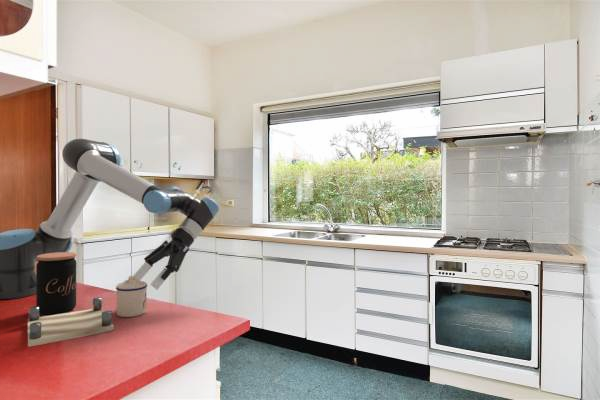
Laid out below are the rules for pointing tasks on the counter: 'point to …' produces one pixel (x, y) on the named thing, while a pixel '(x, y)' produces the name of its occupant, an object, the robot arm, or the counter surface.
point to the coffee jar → (56, 283)
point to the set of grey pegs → (36, 327)
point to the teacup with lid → (131, 297)
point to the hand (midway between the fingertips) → (144, 283)
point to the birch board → (69, 326)
